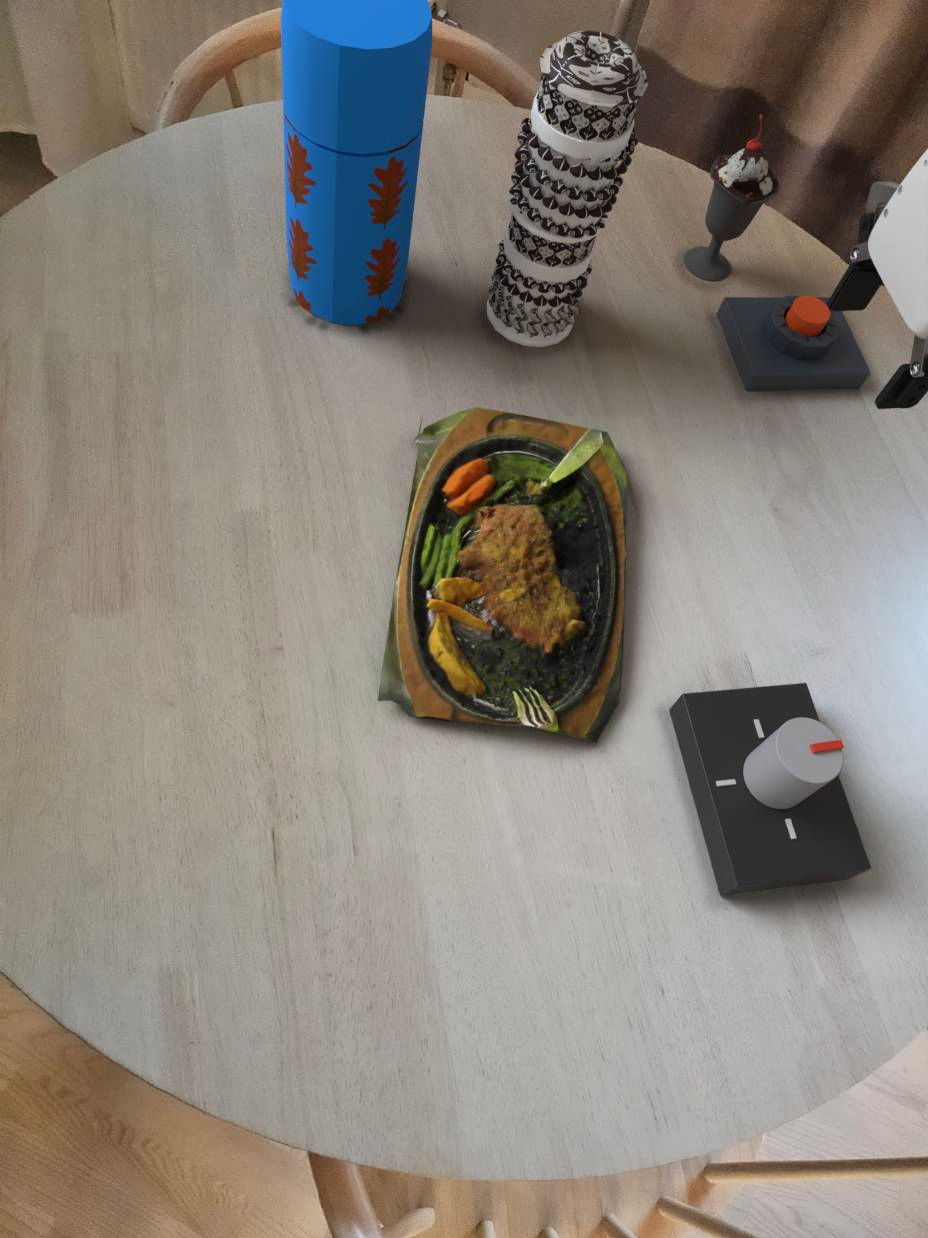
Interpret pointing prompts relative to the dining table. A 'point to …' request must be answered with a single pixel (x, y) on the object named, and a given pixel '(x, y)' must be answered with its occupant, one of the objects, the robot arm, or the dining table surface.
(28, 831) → the dining table surface
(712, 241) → the sundae
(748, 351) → the switch block
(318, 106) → the thermos
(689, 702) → the dial panel
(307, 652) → the dining table surface
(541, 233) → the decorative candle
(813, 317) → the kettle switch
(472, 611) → the prepared meal
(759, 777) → the knob
